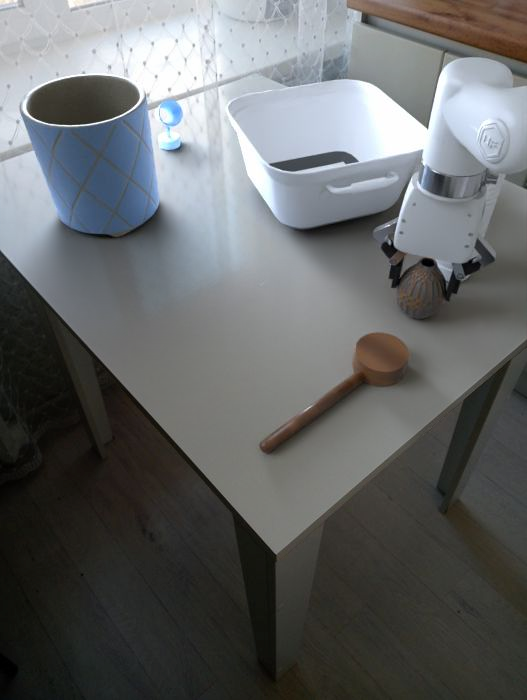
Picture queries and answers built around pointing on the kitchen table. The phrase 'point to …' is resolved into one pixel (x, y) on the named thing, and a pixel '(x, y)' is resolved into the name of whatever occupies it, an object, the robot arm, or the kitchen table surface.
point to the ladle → (352, 380)
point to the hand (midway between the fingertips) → (421, 287)
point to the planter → (94, 150)
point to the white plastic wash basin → (326, 150)
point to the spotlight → (169, 124)
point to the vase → (421, 289)
